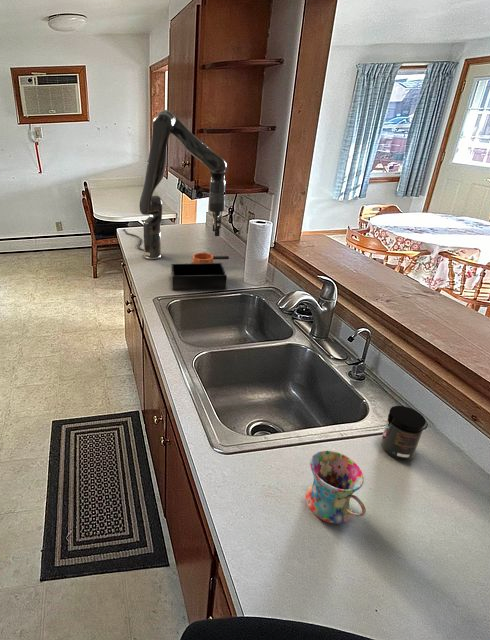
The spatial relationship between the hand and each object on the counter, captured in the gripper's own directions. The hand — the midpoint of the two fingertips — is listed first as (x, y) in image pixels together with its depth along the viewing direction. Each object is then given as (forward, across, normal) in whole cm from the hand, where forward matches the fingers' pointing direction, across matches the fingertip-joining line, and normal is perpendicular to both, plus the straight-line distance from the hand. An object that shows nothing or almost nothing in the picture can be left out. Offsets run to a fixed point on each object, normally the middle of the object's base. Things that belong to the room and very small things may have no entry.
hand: (215, 233), depth 193 cm
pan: (+17, +1, +2) cm, 17 cm away
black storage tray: (+17, -22, +10) cm, 29 cm away
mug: (+19, -132, -8) cm, 134 cm away
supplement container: (+19, -116, -28) cm, 121 cm away
